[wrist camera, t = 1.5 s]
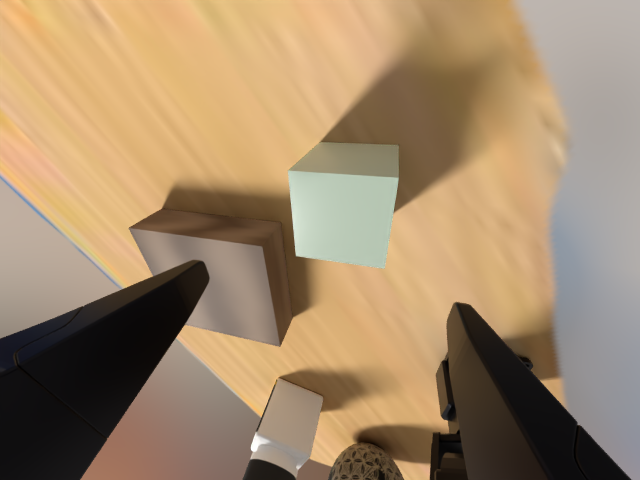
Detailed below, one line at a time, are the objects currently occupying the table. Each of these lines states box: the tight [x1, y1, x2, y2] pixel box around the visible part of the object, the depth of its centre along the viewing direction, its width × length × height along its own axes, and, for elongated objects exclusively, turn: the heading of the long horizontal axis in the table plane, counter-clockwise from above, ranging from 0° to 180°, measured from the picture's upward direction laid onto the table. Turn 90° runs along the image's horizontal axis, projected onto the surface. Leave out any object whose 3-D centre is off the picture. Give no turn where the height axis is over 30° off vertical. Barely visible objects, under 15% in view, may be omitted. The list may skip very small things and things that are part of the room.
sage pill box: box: [288, 142, 399, 269], centre depth 15 cm, size 5×5×6 cm
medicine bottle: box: [243, 378, 323, 480], centre depth 33 cm, size 7×7×12 cm
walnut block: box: [129, 209, 293, 347], centre depth 24 cm, size 12×12×4 cm
